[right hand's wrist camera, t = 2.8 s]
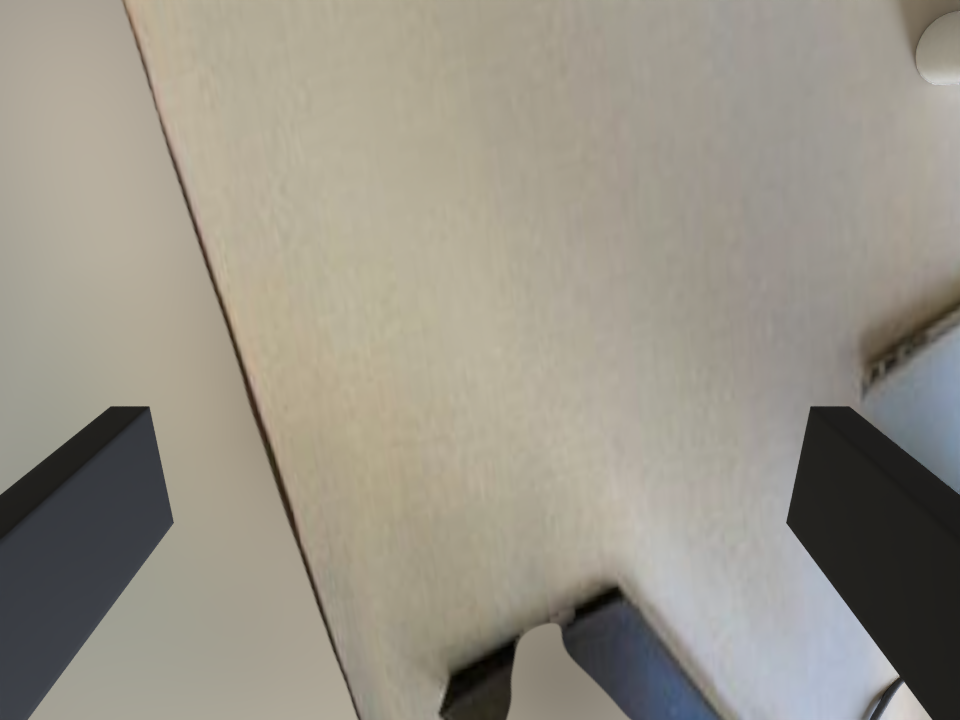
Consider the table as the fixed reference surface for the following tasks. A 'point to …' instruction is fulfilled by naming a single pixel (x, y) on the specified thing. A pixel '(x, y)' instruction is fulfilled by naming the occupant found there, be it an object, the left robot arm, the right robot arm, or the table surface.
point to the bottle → (940, 51)
